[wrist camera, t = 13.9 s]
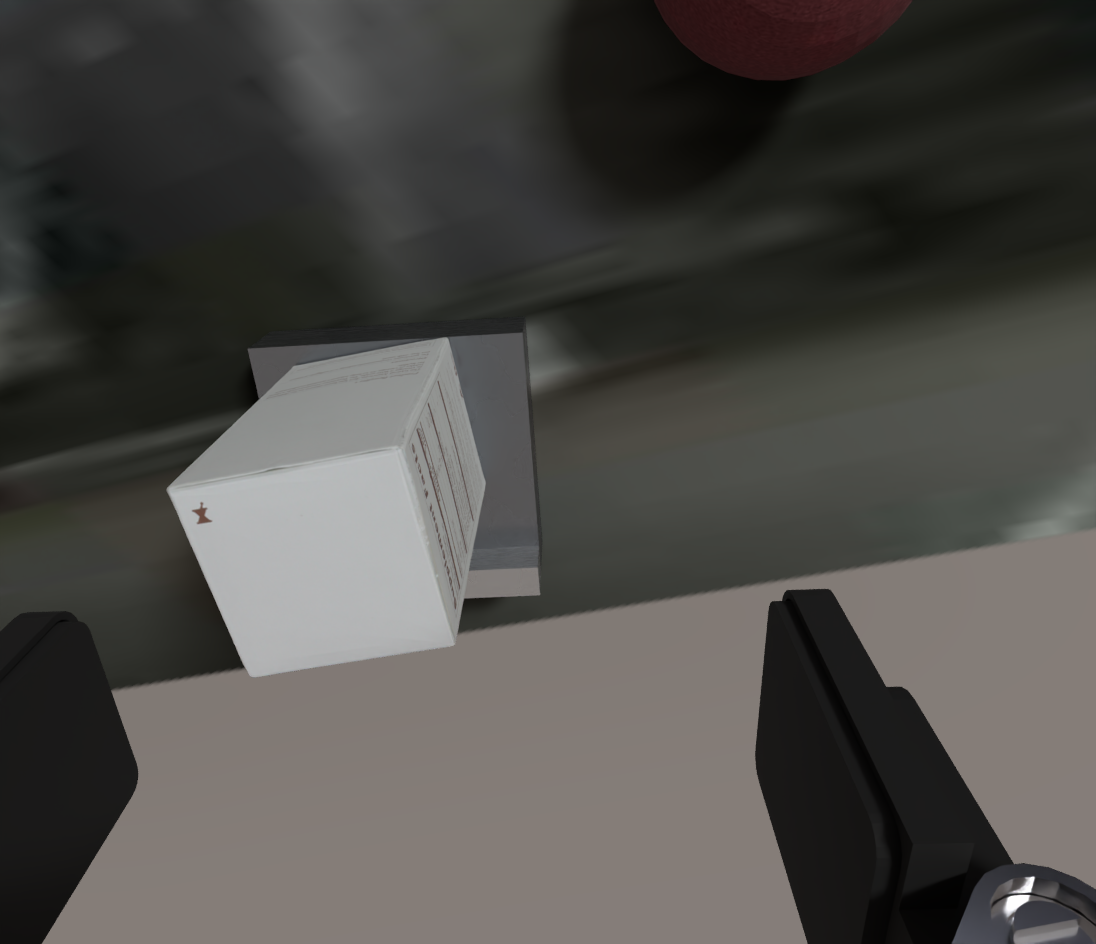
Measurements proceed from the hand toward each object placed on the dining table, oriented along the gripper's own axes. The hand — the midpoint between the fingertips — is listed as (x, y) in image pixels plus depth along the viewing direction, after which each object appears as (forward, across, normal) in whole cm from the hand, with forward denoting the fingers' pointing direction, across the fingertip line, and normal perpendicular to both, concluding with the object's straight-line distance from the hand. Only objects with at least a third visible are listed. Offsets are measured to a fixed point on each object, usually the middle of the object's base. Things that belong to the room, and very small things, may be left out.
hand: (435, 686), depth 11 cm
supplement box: (+25, +6, +6) cm, 26 cm away
